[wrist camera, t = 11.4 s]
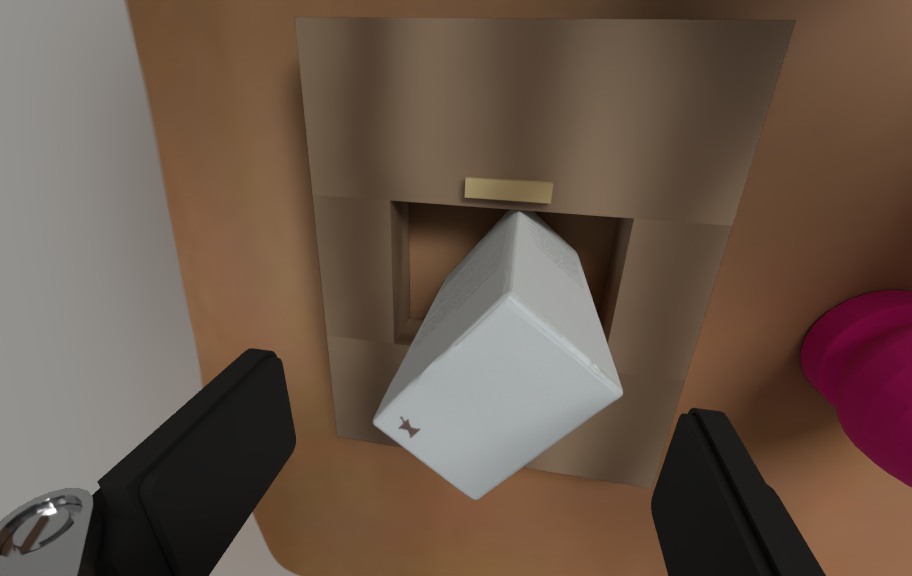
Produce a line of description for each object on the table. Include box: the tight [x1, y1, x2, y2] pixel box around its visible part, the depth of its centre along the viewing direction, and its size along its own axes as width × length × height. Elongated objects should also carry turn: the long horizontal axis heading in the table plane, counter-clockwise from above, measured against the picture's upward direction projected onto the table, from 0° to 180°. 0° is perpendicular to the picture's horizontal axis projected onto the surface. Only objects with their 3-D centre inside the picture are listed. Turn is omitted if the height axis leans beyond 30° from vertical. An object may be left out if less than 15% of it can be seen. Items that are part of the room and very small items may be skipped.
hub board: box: [294, 17, 796, 489], centre depth 21 cm, size 18×22×3 cm
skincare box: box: [373, 209, 623, 500], centre depth 17 cm, size 6×4×12 cm
